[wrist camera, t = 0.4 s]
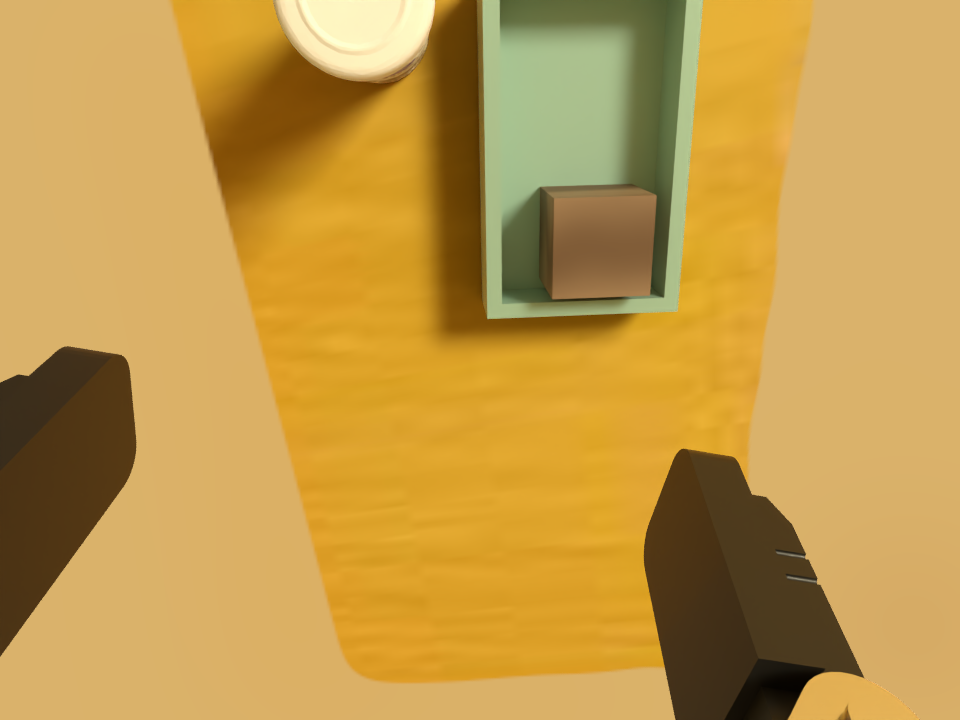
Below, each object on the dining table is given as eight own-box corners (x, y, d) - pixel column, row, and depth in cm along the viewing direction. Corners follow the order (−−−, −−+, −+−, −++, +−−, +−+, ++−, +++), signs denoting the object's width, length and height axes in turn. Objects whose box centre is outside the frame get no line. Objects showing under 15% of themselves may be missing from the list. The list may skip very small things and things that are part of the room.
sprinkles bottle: (377, 105, 34) (351, 115, 21) (306, 22, 32) (232, -19, 20) (451, 34, 33) (469, 1, 20) (381, -53, 31) (354, -147, 19)
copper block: (540, 186, 35) (554, 198, 31) (631, 183, 35) (656, 195, 31) (539, 277, 36) (552, 299, 33) (627, 274, 37) (650, 295, 33)
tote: (476, -17, 32) (481, -28, 29) (679, -20, 33) (705, -30, 30) (482, 300, 37) (487, 319, 34) (657, 293, 38) (677, 311, 35)
